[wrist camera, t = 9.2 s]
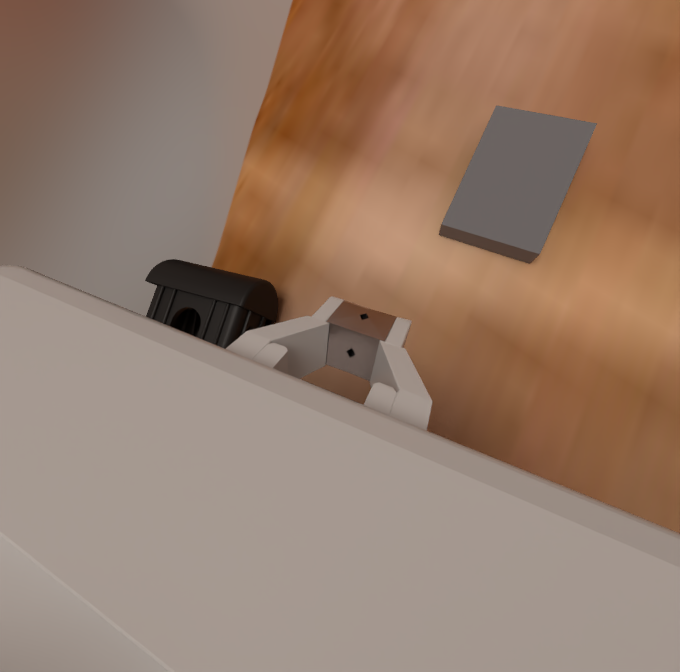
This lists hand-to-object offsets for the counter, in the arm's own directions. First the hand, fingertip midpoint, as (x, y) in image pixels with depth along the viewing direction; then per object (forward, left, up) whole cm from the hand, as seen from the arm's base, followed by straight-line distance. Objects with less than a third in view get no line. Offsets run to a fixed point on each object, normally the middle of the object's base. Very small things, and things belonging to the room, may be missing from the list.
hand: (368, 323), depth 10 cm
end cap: (+2, +16, -16) cm, 23 cm away
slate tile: (+11, -7, -15) cm, 20 cm away
